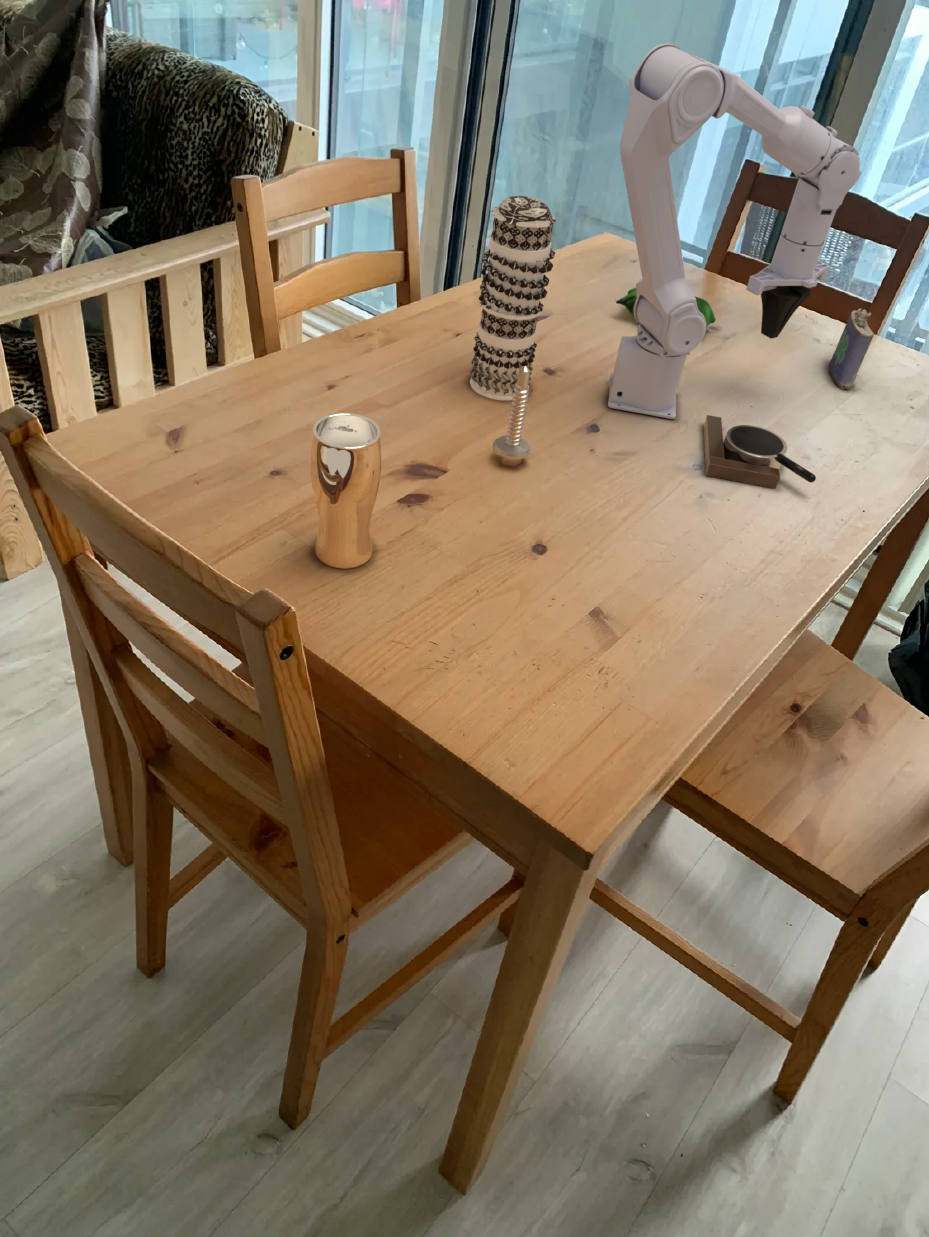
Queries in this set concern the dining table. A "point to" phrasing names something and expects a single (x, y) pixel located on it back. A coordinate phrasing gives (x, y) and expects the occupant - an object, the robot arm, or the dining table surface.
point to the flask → (851, 349)
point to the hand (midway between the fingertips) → (769, 335)
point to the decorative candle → (511, 294)
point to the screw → (515, 425)
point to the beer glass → (345, 486)
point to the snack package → (701, 303)
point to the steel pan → (760, 449)
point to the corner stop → (730, 468)
